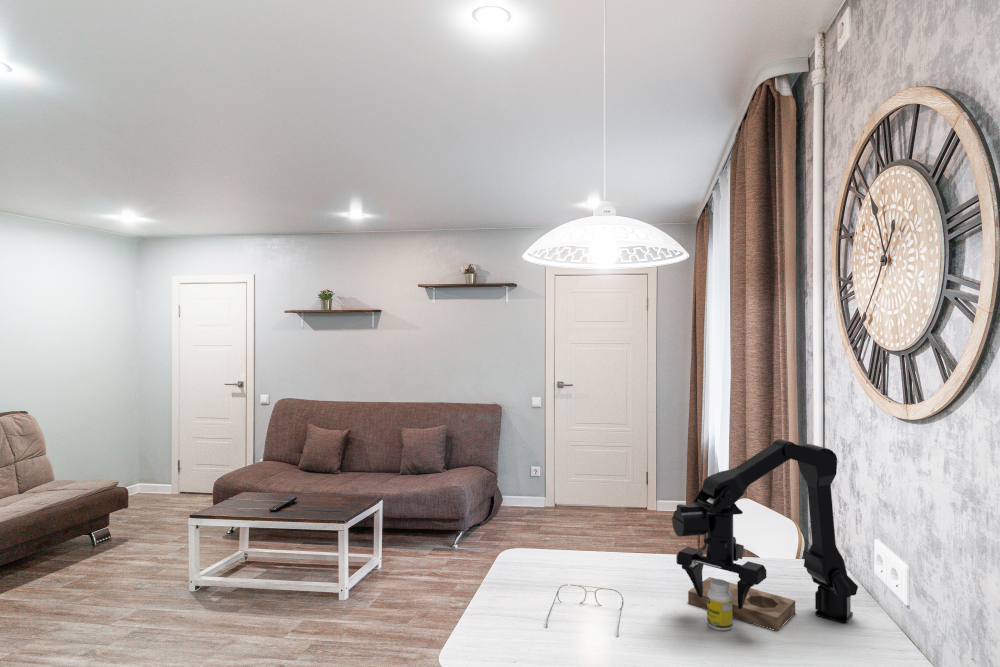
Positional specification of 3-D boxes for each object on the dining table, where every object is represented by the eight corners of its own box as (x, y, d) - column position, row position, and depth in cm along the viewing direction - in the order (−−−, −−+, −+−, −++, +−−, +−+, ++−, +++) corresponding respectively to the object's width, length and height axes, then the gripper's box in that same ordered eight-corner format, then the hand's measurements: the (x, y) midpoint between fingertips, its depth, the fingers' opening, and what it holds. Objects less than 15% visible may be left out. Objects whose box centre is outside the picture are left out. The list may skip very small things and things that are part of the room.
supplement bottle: (702, 622, 142) (702, 579, 142) (722, 618, 143) (722, 576, 144) (717, 632, 137) (717, 588, 137) (737, 629, 138) (737, 585, 138)
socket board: (795, 613, 146) (795, 600, 146) (777, 631, 137) (777, 617, 137) (709, 588, 160) (709, 576, 160) (688, 603, 152) (688, 591, 152)
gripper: (775, 533, 140) (775, 603, 140) (696, 517, 152) (696, 581, 152) (756, 546, 132) (756, 620, 132) (675, 527, 144) (675, 595, 144)
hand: (720, 602), depth 140 cm, fingers open, 9 cm apart
